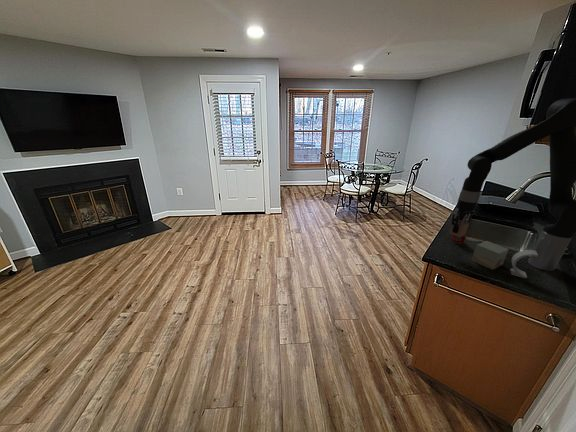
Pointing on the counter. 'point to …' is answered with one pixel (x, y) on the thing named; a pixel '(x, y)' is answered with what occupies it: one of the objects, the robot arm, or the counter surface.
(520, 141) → the robot arm
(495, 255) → the tower top
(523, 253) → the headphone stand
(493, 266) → the tower bottom
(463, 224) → the terracotta block
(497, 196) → the counter surface
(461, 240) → the beverage can
